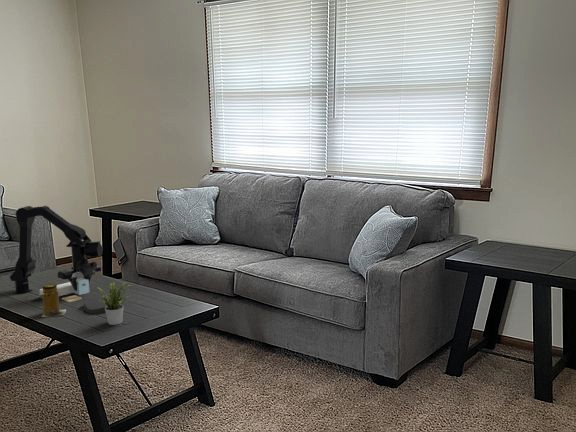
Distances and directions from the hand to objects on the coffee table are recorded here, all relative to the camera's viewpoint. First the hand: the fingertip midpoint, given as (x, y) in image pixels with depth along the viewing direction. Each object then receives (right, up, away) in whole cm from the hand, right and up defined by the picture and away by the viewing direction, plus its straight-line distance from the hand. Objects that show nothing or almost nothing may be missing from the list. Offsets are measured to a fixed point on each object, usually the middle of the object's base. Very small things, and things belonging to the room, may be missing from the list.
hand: (81, 289), depth 250 cm
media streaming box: (+17, -5, -19) cm, 26 cm away
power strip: (-9, -2, -3) cm, 10 cm away
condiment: (-1, -7, -27) cm, 28 cm away
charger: (-1, -1, +1) cm, 2 cm away
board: (-1, -3, -9) cm, 10 cm away
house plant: (+29, -8, -38) cm, 48 cm away
